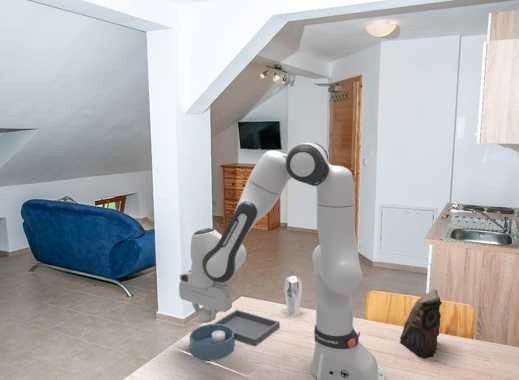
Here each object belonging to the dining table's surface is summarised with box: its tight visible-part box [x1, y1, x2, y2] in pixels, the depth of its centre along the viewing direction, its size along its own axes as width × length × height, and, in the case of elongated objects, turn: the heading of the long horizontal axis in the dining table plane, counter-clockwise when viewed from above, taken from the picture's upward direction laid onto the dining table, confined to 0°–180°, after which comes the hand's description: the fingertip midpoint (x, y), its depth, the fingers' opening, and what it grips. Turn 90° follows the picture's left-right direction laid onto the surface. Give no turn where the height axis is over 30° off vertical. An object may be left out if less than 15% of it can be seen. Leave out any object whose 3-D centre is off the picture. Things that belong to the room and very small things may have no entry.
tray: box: [213, 309, 280, 347], centre depth 158 cm, size 20×16×3 cm
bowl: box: [189, 323, 236, 362], centre depth 145 cm, size 15×15×6 cm
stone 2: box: [212, 330, 225, 344], centre depth 148 cm, size 5×5×3 cm
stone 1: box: [198, 306, 213, 324], centre depth 141 cm, size 5×5×3 cm
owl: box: [399, 288, 443, 360], centre depth 143 cm, size 13×13×20 cm
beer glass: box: [284, 275, 303, 317], centre depth 171 cm, size 7×7×15 cm
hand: (205, 317), depth 142 cm, fingers closed on stone 1, 5 cm apart
